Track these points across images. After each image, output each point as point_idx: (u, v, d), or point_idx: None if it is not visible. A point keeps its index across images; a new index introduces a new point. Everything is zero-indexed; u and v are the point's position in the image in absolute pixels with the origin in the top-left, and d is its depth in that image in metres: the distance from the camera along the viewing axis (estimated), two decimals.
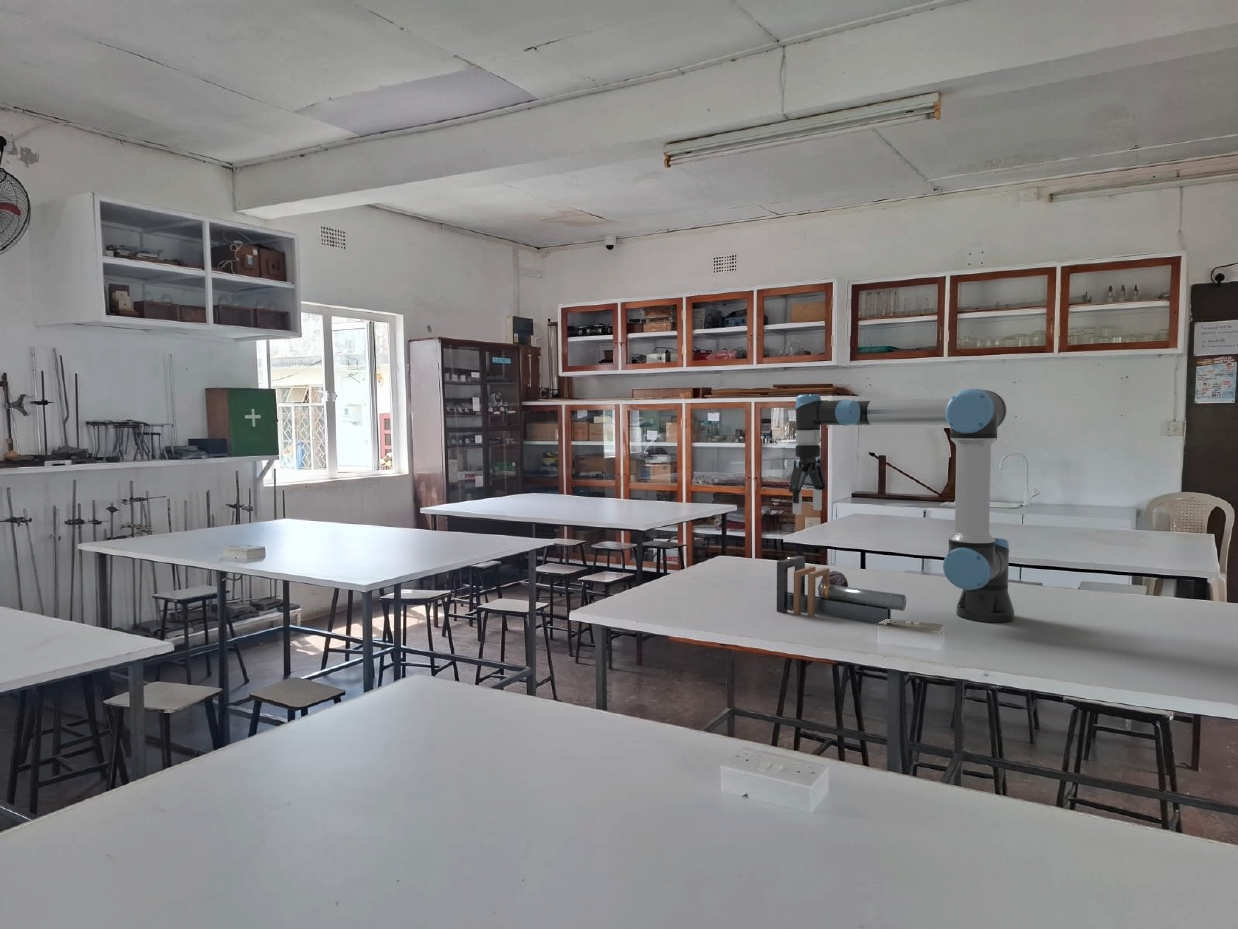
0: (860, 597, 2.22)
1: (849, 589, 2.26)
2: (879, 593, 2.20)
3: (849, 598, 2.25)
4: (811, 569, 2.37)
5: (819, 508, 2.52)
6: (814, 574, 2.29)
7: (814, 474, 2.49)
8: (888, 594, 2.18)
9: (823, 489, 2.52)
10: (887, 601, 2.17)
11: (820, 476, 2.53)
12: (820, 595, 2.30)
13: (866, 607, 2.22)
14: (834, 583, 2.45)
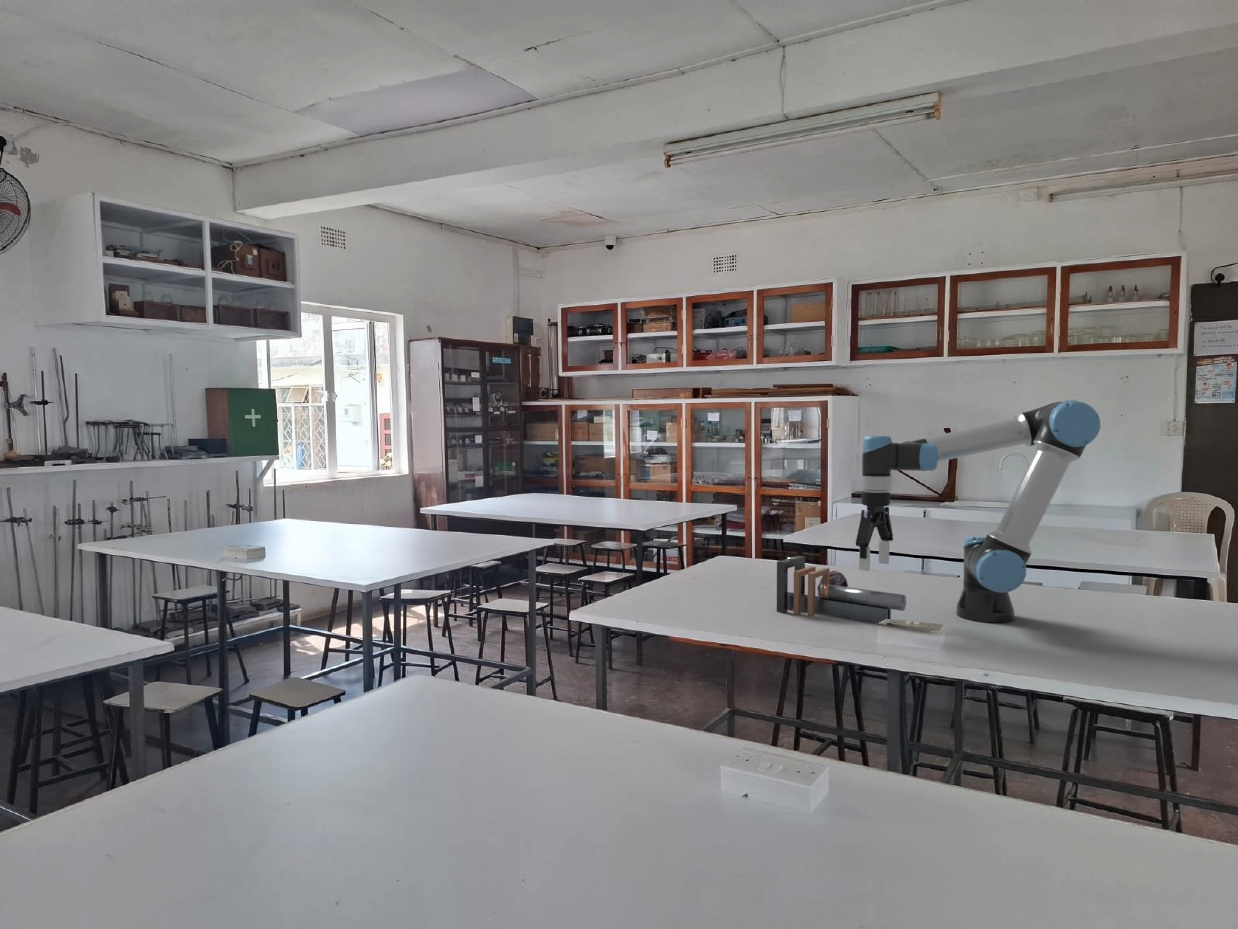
0: (860, 597, 2.22)
1: (849, 589, 2.26)
2: (879, 593, 2.20)
3: (849, 598, 2.25)
4: (811, 569, 2.37)
5: (886, 561, 2.26)
6: (814, 574, 2.29)
7: (882, 524, 2.23)
8: (888, 594, 2.18)
9: (891, 540, 2.26)
10: (887, 601, 2.17)
11: (887, 526, 2.26)
12: (820, 595, 2.30)
13: (866, 607, 2.22)
14: (834, 583, 2.45)
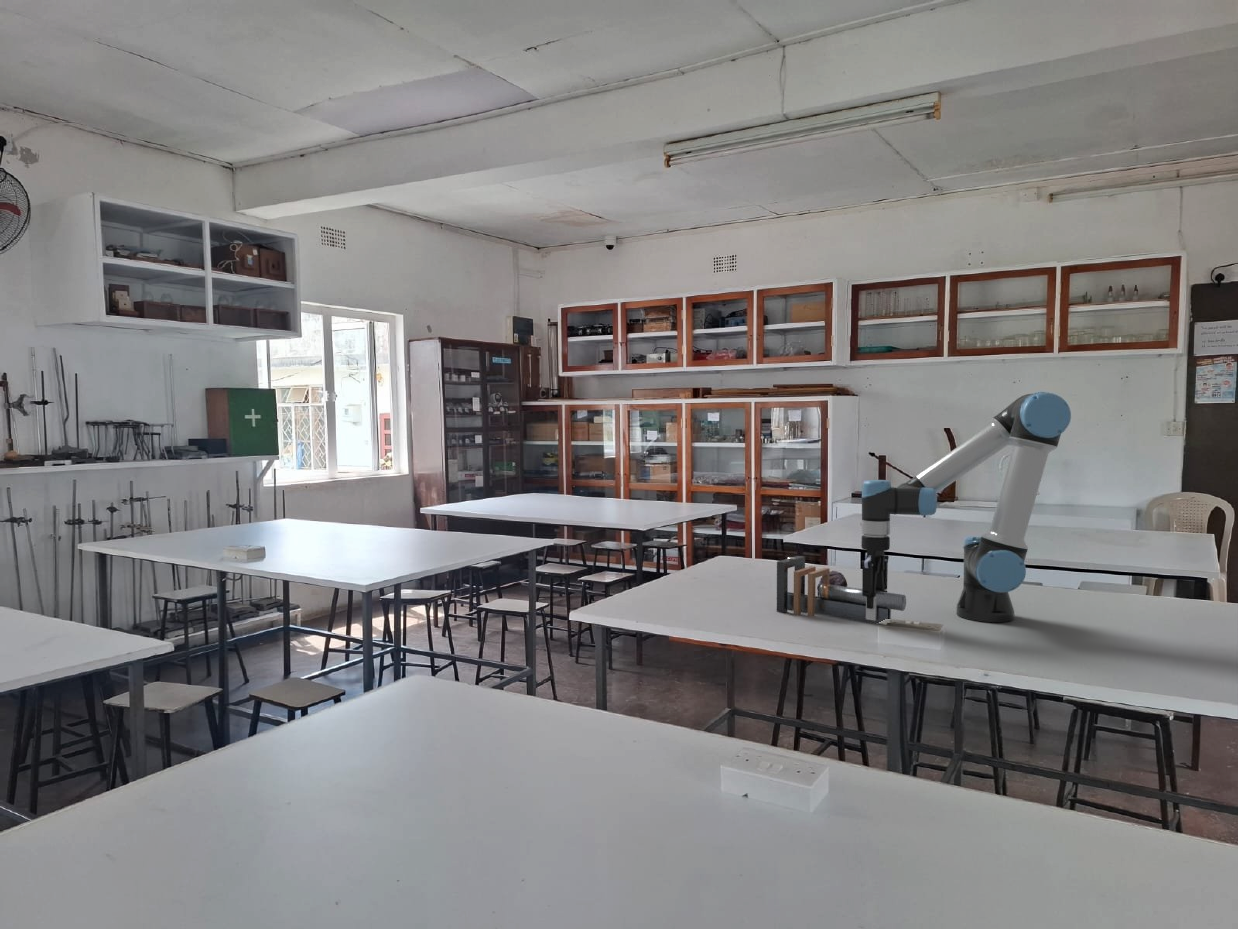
0: (860, 597, 2.22)
1: (849, 589, 2.26)
2: (879, 593, 2.20)
3: (849, 598, 2.25)
4: (811, 569, 2.37)
5: None
6: (814, 574, 2.29)
7: (879, 570, 2.22)
8: (888, 594, 2.18)
9: None
10: (887, 601, 2.17)
11: (884, 575, 2.25)
12: (820, 595, 2.30)
13: None
14: (833, 583, 2.45)
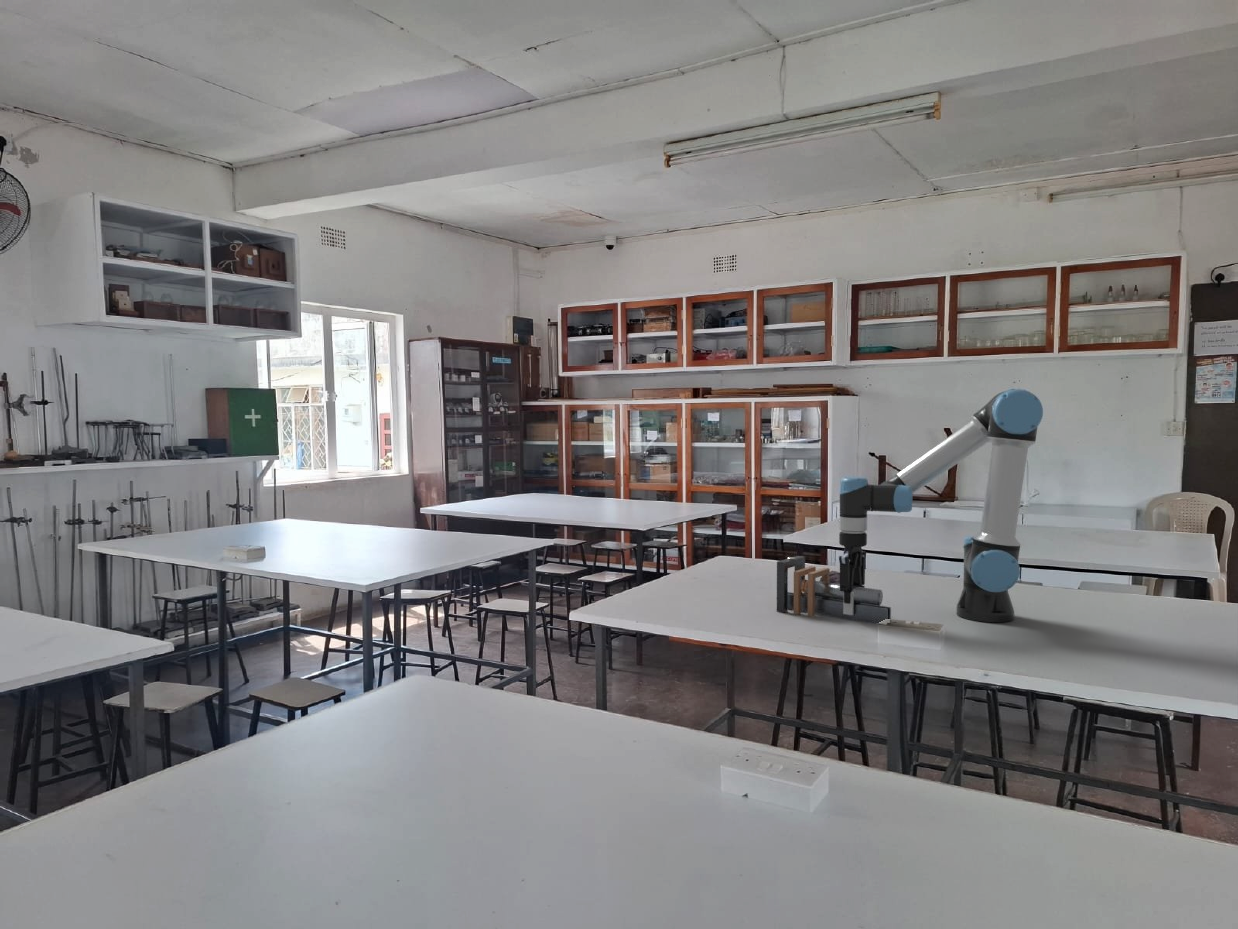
0: (838, 592, 2.27)
1: (827, 584, 2.30)
2: (856, 588, 2.24)
3: (827, 593, 2.29)
4: (811, 569, 2.37)
5: None
6: (814, 574, 2.29)
7: (857, 566, 2.26)
8: (865, 589, 2.23)
9: None
10: (864, 596, 2.21)
11: (861, 571, 2.29)
12: None
13: (866, 607, 2.22)
14: None
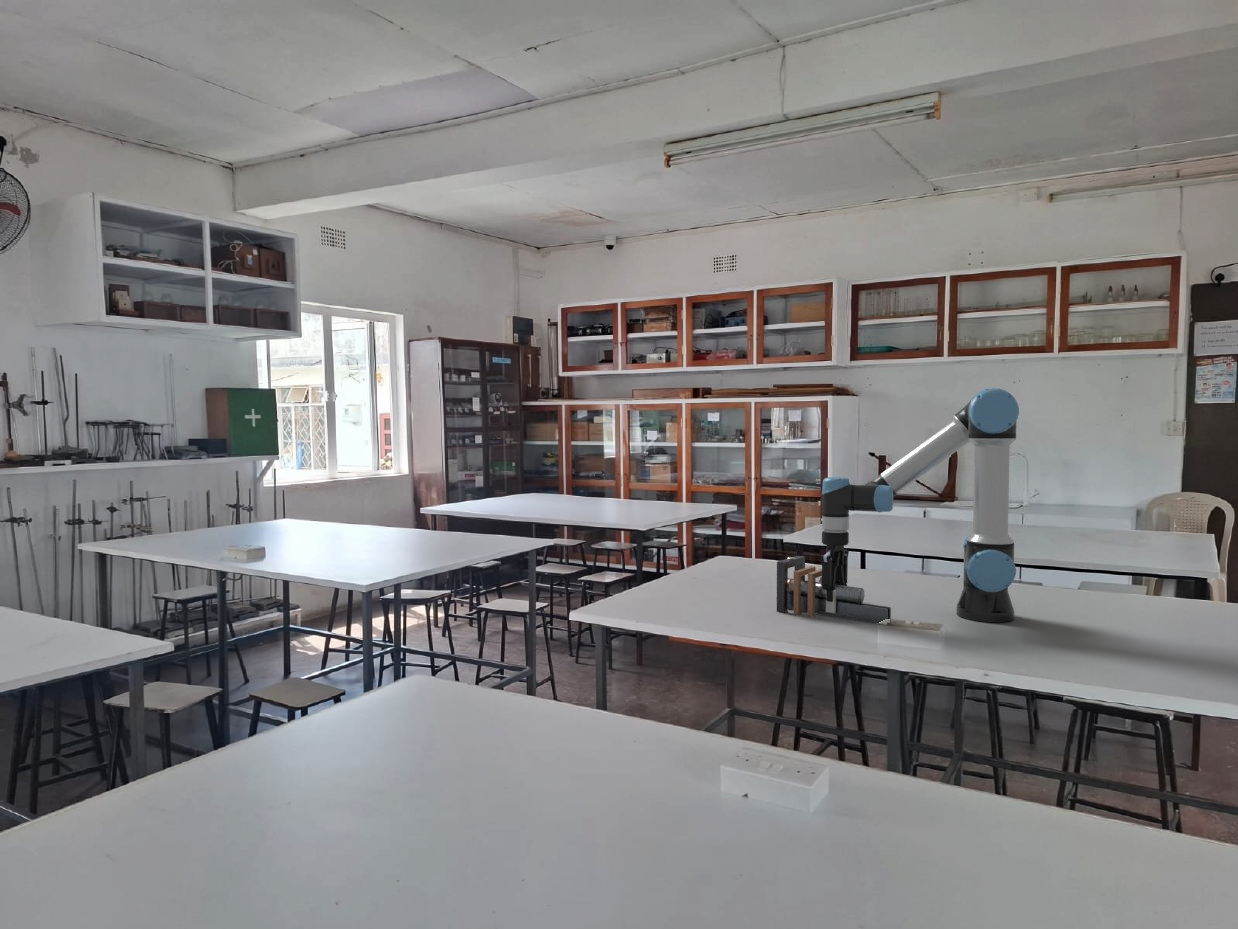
0: (820, 590, 2.30)
1: None
2: (838, 586, 2.28)
3: None
4: (811, 569, 2.37)
5: None
6: (814, 574, 2.29)
7: (839, 565, 2.30)
8: (847, 587, 2.26)
9: None
10: (846, 594, 2.25)
11: (844, 569, 2.32)
12: None
13: (866, 607, 2.22)
14: None
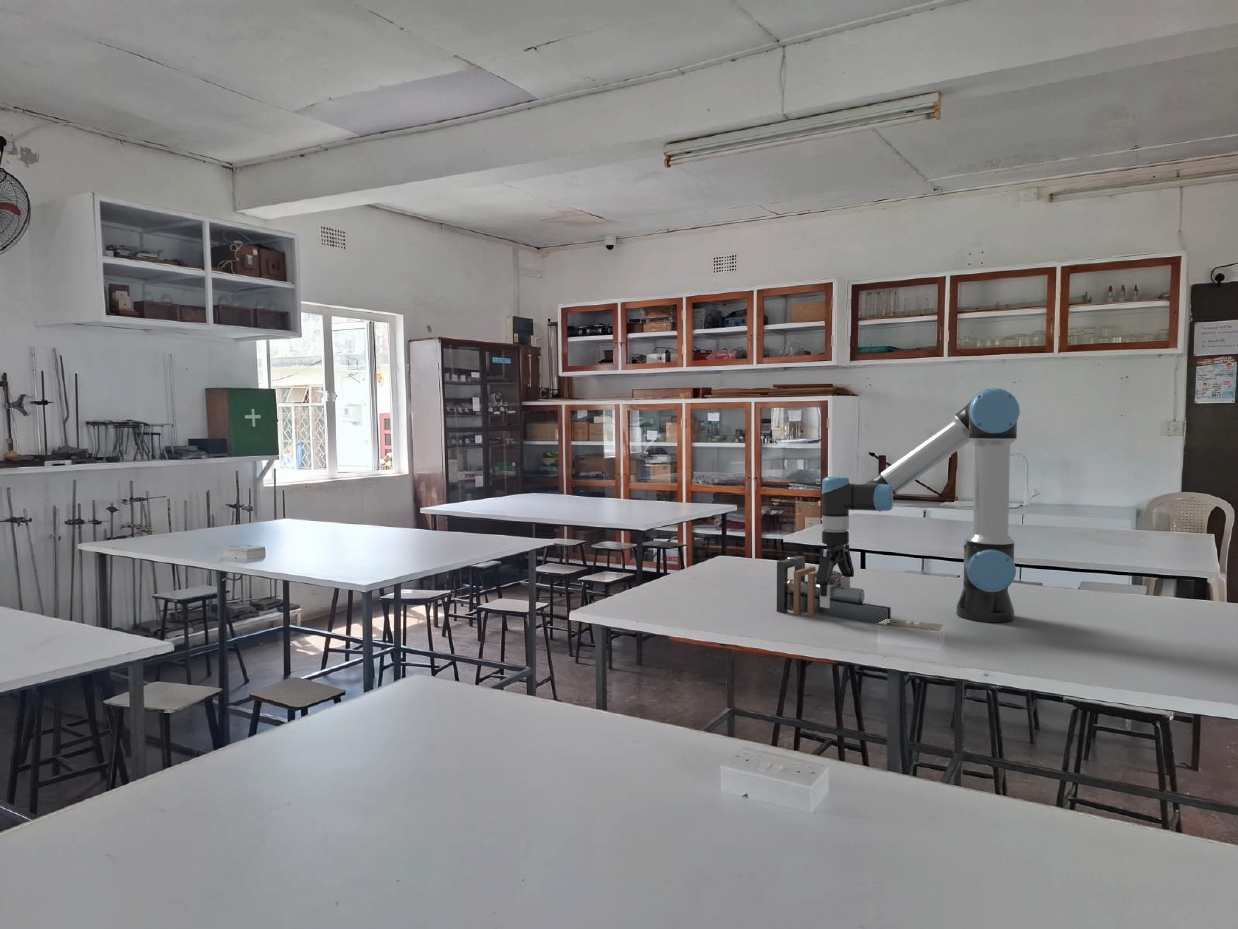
0: None
1: None
2: (838, 587, 2.28)
3: None
4: (811, 569, 2.37)
5: None
6: (814, 574, 2.29)
7: (842, 561, 2.31)
8: (847, 588, 2.26)
9: (852, 576, 2.34)
10: (846, 595, 2.25)
11: (848, 562, 2.34)
12: None
13: (866, 607, 2.22)
14: (832, 583, 2.46)
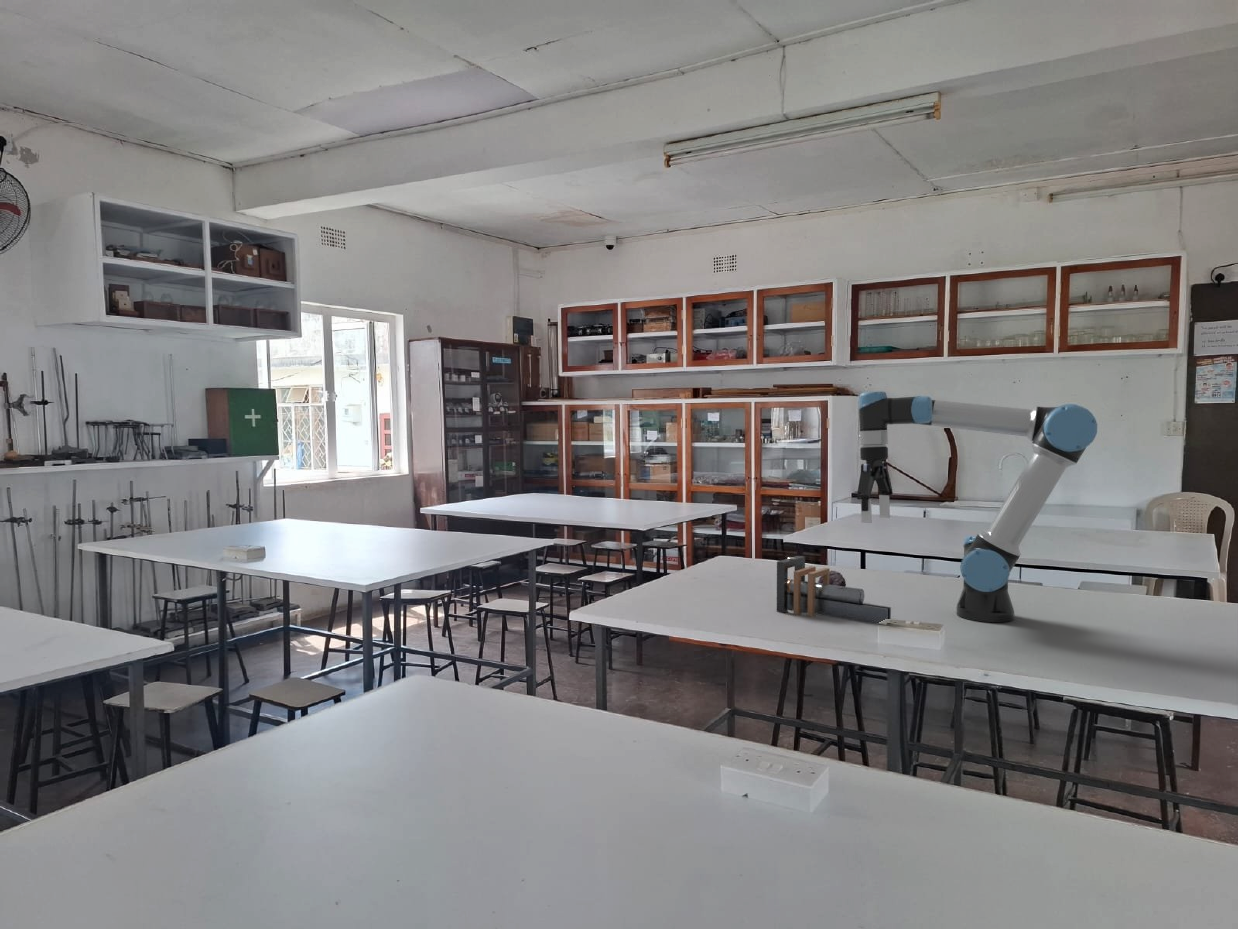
0: (820, 591, 2.30)
1: None
2: (838, 587, 2.28)
3: None
4: (811, 569, 2.37)
5: (887, 515, 2.31)
6: (814, 574, 2.29)
7: (881, 478, 2.28)
8: (847, 588, 2.26)
9: (890, 494, 2.31)
10: (846, 595, 2.25)
11: (887, 480, 2.32)
12: None
13: (866, 607, 2.22)
14: (832, 583, 2.46)
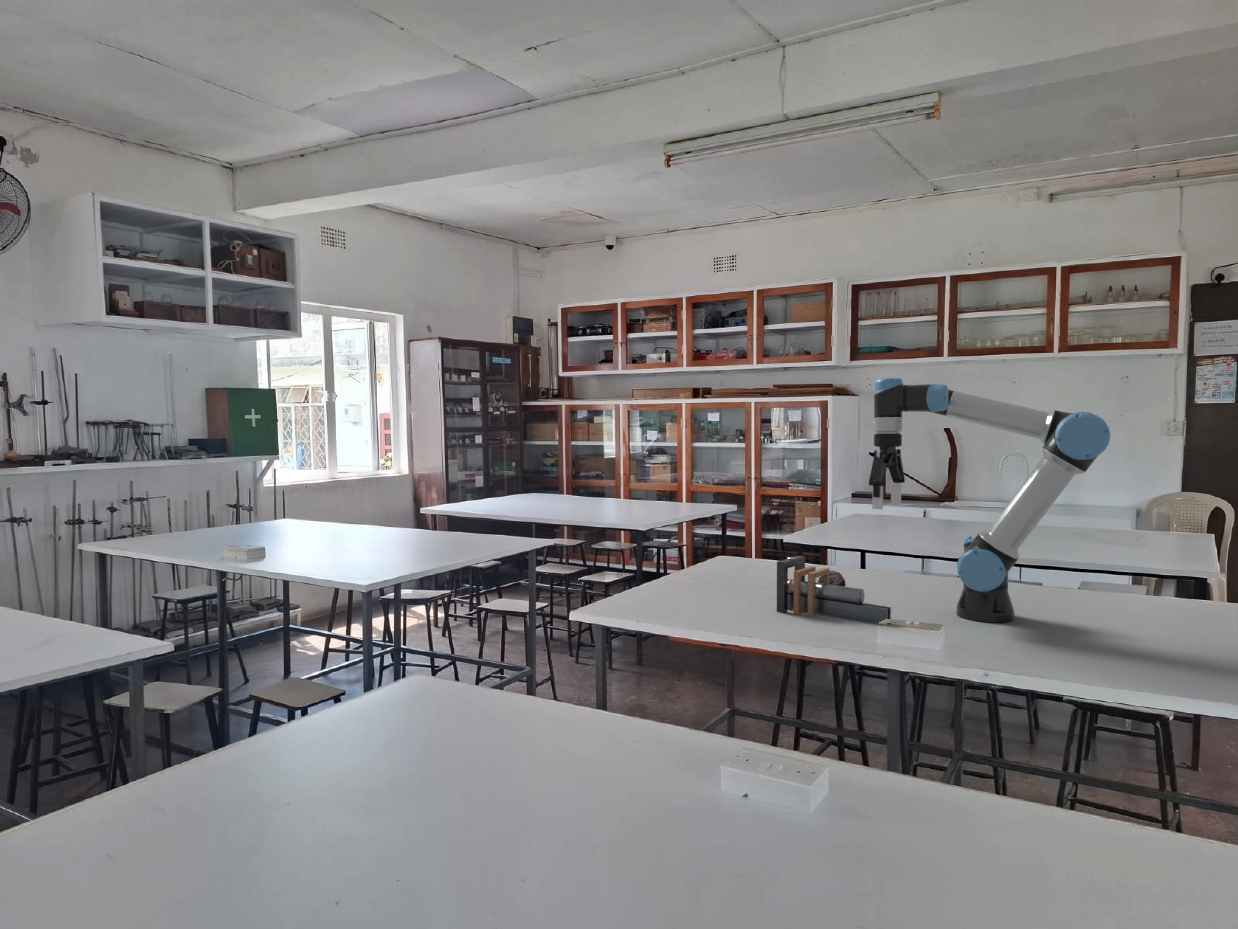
0: (820, 591, 2.30)
1: None
2: (838, 587, 2.28)
3: None
4: (811, 569, 2.37)
5: (898, 503, 2.31)
6: (814, 574, 2.29)
7: (894, 466, 2.28)
8: (847, 588, 2.26)
9: (903, 482, 2.31)
10: (846, 595, 2.25)
11: (899, 468, 2.31)
12: None
13: (866, 607, 2.22)
14: (831, 583, 2.46)
